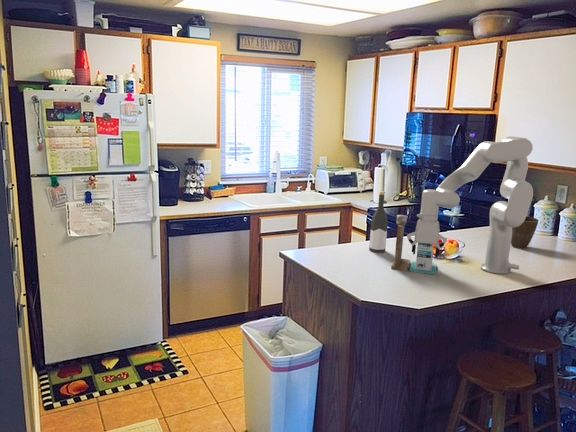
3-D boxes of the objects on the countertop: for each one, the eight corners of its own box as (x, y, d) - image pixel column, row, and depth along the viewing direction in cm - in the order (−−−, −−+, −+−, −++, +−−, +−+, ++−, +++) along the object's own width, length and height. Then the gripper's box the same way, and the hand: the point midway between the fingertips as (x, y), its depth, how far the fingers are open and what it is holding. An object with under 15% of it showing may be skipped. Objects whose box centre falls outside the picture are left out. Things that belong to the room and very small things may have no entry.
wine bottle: (384, 248, 253) (389, 190, 246) (385, 253, 245) (391, 193, 238) (368, 247, 253) (373, 189, 247) (369, 252, 246) (374, 192, 239)
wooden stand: (409, 262, 231) (414, 214, 226) (407, 270, 219) (412, 219, 214) (394, 260, 233) (398, 212, 228) (390, 268, 221) (395, 218, 216)
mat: (436, 266, 227) (436, 264, 227) (435, 274, 215) (435, 273, 215) (412, 263, 230) (412, 261, 230) (409, 271, 218) (409, 269, 218)
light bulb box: (431, 271, 217) (434, 247, 214) (415, 269, 218) (418, 246, 216) (430, 264, 227) (433, 241, 225) (415, 262, 228) (418, 240, 226)
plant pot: (539, 251, 261) (544, 221, 258) (511, 250, 261) (515, 220, 258) (526, 244, 276) (530, 215, 272) (499, 242, 276) (503, 214, 272)
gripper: (407, 217, 217) (404, 254, 221) (449, 221, 212) (444, 259, 215) (409, 214, 224) (406, 250, 227) (449, 218, 219) (445, 255, 222)
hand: (425, 255), depth 221 cm, fingers open, 9 cm apart
